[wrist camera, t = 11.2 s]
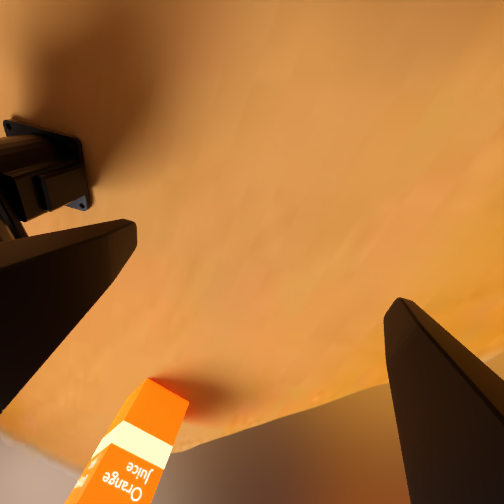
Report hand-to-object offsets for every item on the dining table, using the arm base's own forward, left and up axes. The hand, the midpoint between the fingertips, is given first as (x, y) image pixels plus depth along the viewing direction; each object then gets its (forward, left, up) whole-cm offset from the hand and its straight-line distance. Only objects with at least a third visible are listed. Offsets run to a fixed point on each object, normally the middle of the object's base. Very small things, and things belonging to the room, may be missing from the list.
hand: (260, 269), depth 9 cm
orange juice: (-10, -40, -13) cm, 43 cm away
